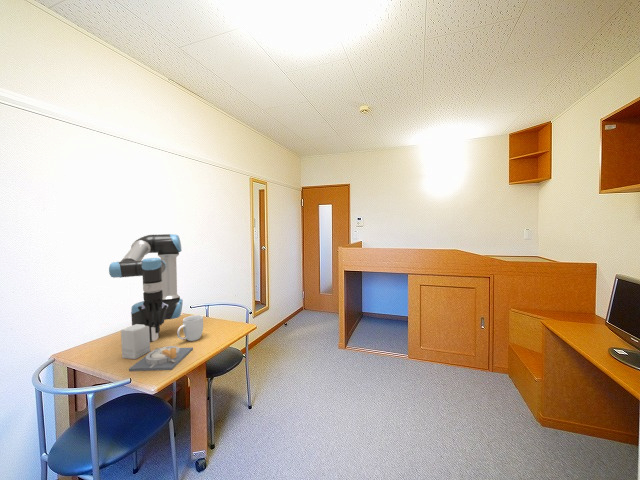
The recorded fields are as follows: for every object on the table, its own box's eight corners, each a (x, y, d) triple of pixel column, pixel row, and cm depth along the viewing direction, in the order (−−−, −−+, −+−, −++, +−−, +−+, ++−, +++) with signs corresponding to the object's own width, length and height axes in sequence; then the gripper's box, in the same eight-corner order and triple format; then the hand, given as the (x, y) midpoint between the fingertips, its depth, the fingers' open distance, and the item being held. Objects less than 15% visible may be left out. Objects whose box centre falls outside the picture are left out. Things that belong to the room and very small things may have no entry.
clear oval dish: (147, 358, 123) (147, 345, 123) (168, 350, 132) (168, 338, 131) (164, 367, 114) (163, 353, 114) (185, 357, 123) (184, 345, 123)
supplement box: (151, 351, 134) (150, 324, 133) (135, 359, 125) (134, 331, 124) (137, 349, 136) (136, 323, 135) (121, 357, 127) (120, 329, 126)
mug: (182, 347, 138) (182, 324, 137) (173, 342, 144) (172, 321, 143) (207, 337, 150) (206, 316, 150) (197, 333, 156) (196, 313, 156)
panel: (156, 350, 134) (156, 344, 134) (192, 349, 135) (192, 343, 135) (128, 371, 114) (128, 363, 114) (171, 369, 115) (171, 362, 115)
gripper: (132, 293, 110) (135, 343, 111) (163, 292, 111) (165, 342, 113) (143, 289, 118) (145, 336, 119) (171, 288, 119) (173, 335, 120)
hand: (155, 339), depth 116 cm, fingers closed
